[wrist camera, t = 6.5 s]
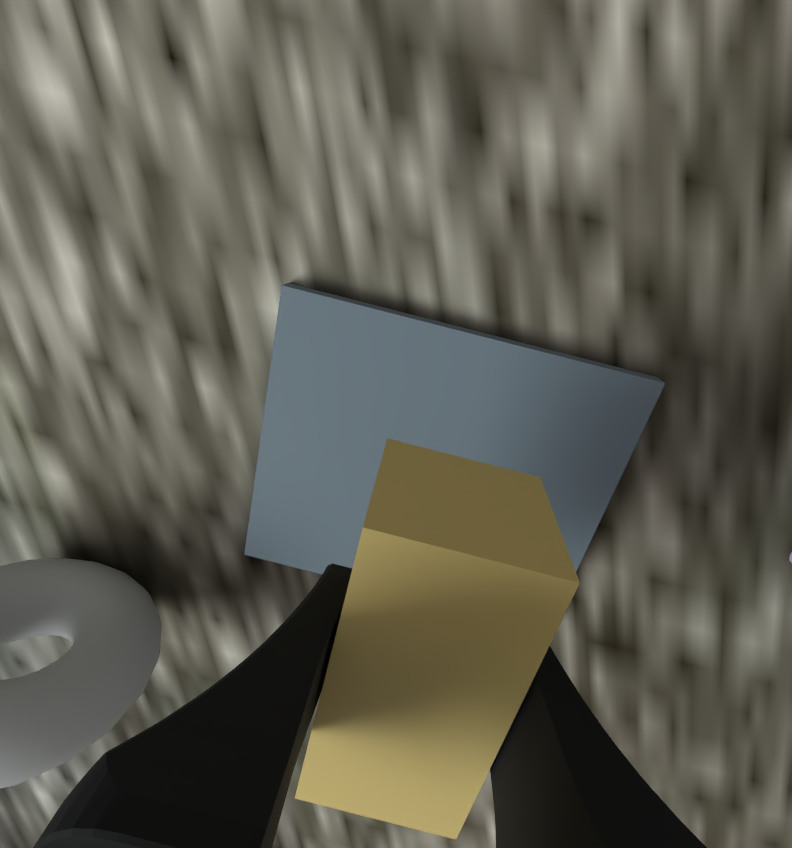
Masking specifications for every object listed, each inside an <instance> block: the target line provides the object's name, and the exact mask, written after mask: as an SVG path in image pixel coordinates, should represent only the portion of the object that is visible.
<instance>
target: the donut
mask: <svg viewBox="0 0 792 848" xmlns="http://www.w3.org/2000/svg"><path fill="white" fill-rule="evenodd" d="M38 635H56V636H62V637H64V638H67V639H69V640H71V641H72V642H73V646H72V647H71V649H70V650H69V651H68V652H66V653H65V654H64V655H63V656H62V657H61V658H59V659H58V660H57V661H55V662H54V663H52V664H50V665H48V666H46V667H45V668H43V669H41V670H39V671H36V672H33V673H31V674H28V675H25V676H22V677H19V678H13V679H6V680H0V788H4V787H9V786H14V785H17V784H19V783H21V782H24V781H26V780H28V779H30V778H32V777H35V776H37V775H39V774H41V773H43V772H46V771H48V770H50V769H52V768H54V767H57V766H59V765H61V764H63V763H66V762H68V761H69V760H70V759H72V758H73V757H75V756H76V755H77V754H79V753H80V752H81V751H83V750H84V749H86V748H87V747H88V746H90V745H91V744H92V743H94V742H95V741H97V740H98V739H99V738H101V737H102V736H104V735H105V734H106V733H108V732H109V731H110V730H111V729H112V728H113V726H114V725H115V724H116V723H117V722H118V721H119V720H120V718H121V717H122V716H123V715H124V714H125V713H126V712H127V710H128V709H129V708H130V707H131V706H132V705H133V704H134V702H135V701H136V700H137V699H138V698H139V697H140V695H141V694H142V693H143V691H144V689H145V687H146V685H147V683H148V681H149V678H150V676H151V674H152V672H153V670H154V668H155V665H156V663H157V661H158V658H159V654H160V641H161V621H160V616H159V614H158V612H157V609H156V607H155V605H154V603H153V601H152V598H151V596H150V594H149V593H148V592H147V591H146V590H145V588H143V587H142V586H141V585H140V584H139V583H137V582H136V581H135V580H134V579H133V578H131V577H130V576H129V575H128V574H127V573H125V572H122V571H119V570H117V569H114V568H111V567H109V566H106V565H103V564H101V563H98V562H93V561H85V560H77V559H69V558H54V559H37V560H26V561H22V562H17V563H13V564H8V565H4V566H0V647H1V646H3V645H5V644H7V643H9V642H13V641H16V640H19V639H23V638H26V637H29V636H38Z"/></svg>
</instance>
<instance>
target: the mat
mask: <svg viewBox="0 0 792 848" xmlns="http://www.w3.org/2000/svg"><path fill="white" fill-rule="evenodd" d="M664 385H665V383H664V382H663V381H661V380H660V379H659V378H657V377H655V376H651V375H647V374H643V373H639V372H635V371H631V370H628V369H624V368H620V367H616V366H612V365H608V364H604V363H600V362H596V361H592V360H588V359H584V358H581V357H577V356H573V355H569V354H565V353H561V352H557V351H553V350H549V349H545V348H541V347H537V346H534V345H530V344H526V343H522V342H518V341H514V340H510V339H506V338H502V337H498V336H494V335H490V334H487V333H483V332H479V331H475V330H471V329H467V328H463V327H459V326H455V325H451V324H447V323H443V322H440V321H436V320H432V319H428V318H424V317H420V316H416V315H412V314H408V313H404V312H400V311H396V310H393V309H389V308H385V307H381V306H377V305H373V304H369V303H365V302H361V301H357V300H353V299H350V298H346V297H342V296H338V295H334V294H330V293H326V292H322V291H318V290H314V289H310V288H306V287H303V286H299V285H295V284H291V283H287V284H284V285H282V288H281V295H280V302H279V309H278V316H277V324H276V331H275V338H274V345H273V352H272V359H271V367H270V374H269V381H268V388H267V395H266V402H265V410H264V417H263V424H262V431H261V438H260V445H259V453H258V460H257V467H256V474H255V481H254V488H253V496H252V503H251V510H250V517H249V524H248V531H247V539H246V546H245V553H244V555H248V556H252V557H256V558H259V559H263V560H267V561H271V562H275V563H279V564H283V565H287V566H291V567H295V568H299V569H303V570H307V571H310V572H314V573H318V574H323V573H324V571H325V569H326V567H327V566H328V565H330V564H332V563H333V564H337V565H341V566H345V567H349V568H353V564H354V560H355V556H356V552H357V548H358V544H359V540H360V536H361V532H362V528H363V525H364V521H365V517H366V514H367V510H368V506H369V503H370V499H371V496H372V492H373V488H374V485H375V481H376V478H377V474H378V470H379V467H380V463H381V459H382V456H383V452H384V449H385V445H386V441H387V438H389V439H393V440H396V441H400V442H404V443H408V444H412V445H416V446H420V447H424V448H428V449H432V450H435V451H439V452H443V453H447V454H451V455H455V456H459V457H463V458H467V459H471V460H475V461H478V462H482V463H486V464H490V465H494V466H498V467H502V468H506V469H510V470H514V471H517V472H521V473H525V474H529V475H533V476H537V477H540V478H541V481H542V483H543V486H544V489H545V491H546V494H547V497H548V499H549V502H550V505H551V507H552V510H553V513H554V515H555V518H556V521H557V523H558V526H559V529H560V531H561V534H562V537H563V539H564V542H565V545H566V547H567V550H568V553H569V555H570V558H571V561H572V563H573V566H574V569H575V571H577V569H578V567H579V565H580V563H581V561H582V558H583V556H584V554H585V552H586V550H587V548H588V546H589V544H590V542H591V539H592V537H593V535H594V533H595V531H596V529H597V527H598V525H599V523H600V520H601V518H602V516H603V514H604V512H605V510H606V508H607V506H608V503H609V501H610V499H611V497H612V495H613V493H614V491H615V489H616V487H617V484H618V482H619V480H620V478H621V476H622V474H623V472H624V470H625V468H626V465H627V463H628V461H629V459H630V457H631V455H632V453H633V451H634V449H635V446H636V444H637V442H638V440H639V438H640V436H641V434H642V432H643V429H644V427H645V425H646V423H647V421H648V419H649V417H650V415H651V413H652V410H653V408H654V406H655V404H656V402H657V400H658V398H659V396H660V394H661V391H662V389H663V387H664Z"/></svg>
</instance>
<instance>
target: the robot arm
mask: <svg viewBox="0 0 792 848" xmlns="http://www.w3.org/2000/svg"><path fill="white" fill-rule="evenodd" d="M789 559H790V562H791V563H792V552H791V554H790V557H789ZM351 572H352V568H349V567H345V566H341V565H337V564H333V563H332V564H330V565H328V566H327V567H326V569H325V571H324V573H323V574H322V576H321V577H320V579H319V580H318V582H317V583H316V585H315V586H314V587H313V589H312V590H311V591H310V593H309V594H308V595H307V597H306V598H305V599H304V600H303V601H302V602H301V604H300V605H299V606H298V607H297V608H296V609H295V611H294V612H293V613H292V614H291V615H290V616H289V617H288V619H287V620H286V621H285V622H284V623H283V624H282V625H281V626H280V627H279V628H278V629H277V630H276V631H275V632H274V633H273V634H272V635H271V636H270V637H269V638H268V639H267V640H266V641H265V642H264V643H263V644H262V645H261V646H260V647H259V648H258V649H256V650H255V651H254V652H253V653H252V654H251V655H250V656H249V657H247V658H246V659H245V660H244V661H243V662H242V663H240V664H239V665H238V666H237V667H236V668H235V669H233V670H232V671H231V672H229V673H228V674H227V675H226V676H224V677H223V678H222V679H221V680H219V681H218V682H217V683H215V684H214V685H213V686H211V687H210V688H209V689H207V690H206V691H205V692H203V693H202V694H201V695H199V696H198V697H196V698H195V699H193V700H192V701H190V702H189V703H187V704H186V705H184V706H183V707H181V708H180V709H178V710H177V711H175V712H174V713H172V714H171V715H169V716H168V717H166V718H165V719H163V720H161V721H160V722H158V723H157V724H155V725H153V726H152V727H150V728H148V729H146V730H145V731H143V732H141V733H139V734H138V735H136V736H134V737H132V738H130V739H129V740H127V741H125V742H123V743H122V744H120V745H118V746H116V747H115V748H113V749H111V750H109V751H107V752H106V753H105V754H104V755H103V756H102V757H101V758H100V759H99V760H98V761H97V762H96V763H95V764H94V766H93V767H92V768H91V769H90V770H89V771H88V772H87V773H86V775H85V776H84V777H83V778H82V779H81V781H80V782H79V783H78V784H77V785H76V787H75V788H74V789H73V790H72V792H71V793H70V794H69V795H68V797H67V798H66V799H65V800H64V802H63V803H62V805H61V806H60V808H59V809H58V810H57V812H56V814H55V815H54V817H53V818H52V820H51V821H50V823H49V824H48V826H47V827H46V829H45V830H44V832H43V833H42V835H41V837H40V838H39V840H38V841H37V843H36V844H35V846H34V847H33V848H272V845H273V841H274V838H275V834H276V831H277V827H278V823H279V820H280V816H281V812H282V809H283V805H284V802H285V798H286V794H287V791H288V787H289V783H290V780H291V776H292V773H293V770H294V767H295V764H296V761H297V757H298V754H299V752H300V749H301V746H302V743H303V741H304V738H305V735H306V732H307V729H308V727H309V724H310V721H311V718H312V716H313V713H314V710H315V707H316V705H317V702H318V699H319V696H320V694H321V691H322V688H323V684H324V680H325V676H326V672H327V668H328V664H329V660H330V656H331V652H332V648H333V644H334V640H335V636H336V632H337V628H338V624H339V620H340V616H341V612H342V608H343V604H344V600H345V596H346V592H347V588H348V584H349V580H350V576H351ZM490 772H491V781H492V790H493V799H494V810H495V824H496V848H707V847H706V846H705V845H704V844H703V843H702V842H701V841H700V840H699V839H698V838H697V837H696V836H695V835H694V834H693V833H692V832H691V831H690V830H689V829H688V828H687V827H686V826H685V825H684V824H683V823H682V822H681V821H680V820H679V819H678V818H677V816H676V815H675V814H674V813H673V812H672V811H671V810H670V809H669V808H668V806H667V805H666V804H665V803H664V802H663V801H662V800H661V799H660V798H659V796H658V795H657V794H656V793H655V792H654V791H653V790H652V789H651V788H650V786H649V785H648V784H647V783H646V782H645V781H644V779H643V778H642V777H641V776H640V775H639V773H638V772H637V771H636V770H635V769H634V767H633V766H632V765H631V764H630V762H629V761H628V760H627V759H626V757H625V756H624V755H623V754H622V752H621V751H620V750H619V749H618V747H617V746H616V745H615V743H614V742H613V741H612V739H611V738H610V737H609V735H608V734H607V733H606V731H605V730H604V729H603V727H602V726H601V724H600V723H599V722H598V720H597V719H596V717H595V716H594V715H593V713H592V712H591V710H590V709H589V707H588V706H587V705H586V703H585V702H584V700H583V699H582V697H581V696H580V694H579V693H578V691H577V689H576V688H575V686H574V685H573V683H572V682H571V680H570V678H569V677H568V675H567V674H566V672H565V671H564V669H563V667H562V666H561V664H560V662H559V661H558V659H557V657H556V656H555V654H554V652H553V651H552V649H551V647H550V646H549V648H548V650H547V652H546V654H545V656H544V658H543V660H542V662H541V664H540V667H539V669H538V671H537V673H536V675H535V677H534V679H533V681H532V683H531V685H530V687H529V689H528V691H527V693H526V696H525V698H524V700H523V702H522V704H521V706H520V708H519V710H518V712H517V714H516V716H515V718H514V720H513V722H512V724H511V727H510V729H509V731H508V733H507V735H506V737H505V739H504V741H503V743H502V745H501V747H500V749H499V751H498V753H497V756H496V758H495V760H494V762H493V764H492V766H491V768H490Z"/></svg>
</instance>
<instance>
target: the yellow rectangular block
mask: <svg viewBox="0 0 792 848" xmlns="http://www.w3.org/2000/svg"><path fill="white" fill-rule="evenodd" d="M579 584H580V582H579V579H578V577H577V574H576V571H575V569H574V566H573V563H572V561H571V558H570V555H569V553H568V550H567V547H566V545H565V542H564V539H563V537H562V534H561V531H560V529H559V526H558V523H557V521H556V518H555V515H554V513H553V510H552V507H551V505H550V502H549V499H548V497H547V494H546V491H545V489H544V486H543V483H542V481H541V478H540V477H537V476H533V475H529V474H525V473H521V472H517V471H514V470H510V469H506V468H502V467H498V466H494V465H490V464H486V463H482V462H478V461H475V460H471V459H467V458H463V457H459V456H455V455H451V454H447V453H443V452H439V451H435V450H432V449H428V448H424V447H420V446H416V445H412V444H408V443H404V442H400V441H396V440H393V439H389V438H387V441H386V445H385V449H384V452H383V456H382V459H381V463H380V467H379V470H378V474H377V478H376V481H375V485H374V488H373V492H372V496H371V499H370V503H369V506H368V510H367V514H366V517H365V521H364V525H363V528H362V532H361V536H360V540H359V544H358V548H357V552H356V556H355V560H354V564H353V568H352V572H351V576H350V580H349V584H348V588H347V592H346V596H345V600H344V604H343V608H342V612H341V616H340V620H339V624H338V628H337V632H336V636H335V640H334V644H333V648H332V652H331V656H330V660H329V664H328V668H327V672H326V676H325V680H324V684H323V688H322V692H321V696H320V700H319V704H318V708H317V712H316V716H315V720H314V724H313V728H312V732H311V736H310V740H309V744H308V748H307V752H306V756H305V760H304V764H303V768H302V772H301V776H300V780H299V784H298V788H297V792H296V796H295V799H299V800H303V801H307V802H311V803H315V804H319V805H323V806H327V807H331V808H335V809H339V810H342V811H346V812H350V813H354V814H358V815H362V816H366V817H370V818H374V819H378V820H382V821H386V822H389V823H393V824H397V825H401V826H405V827H409V828H413V829H417V830H421V831H425V832H429V833H433V834H437V835H440V836H444V837H448V838H452V839H456V838H457V836H458V834H459V832H460V830H461V828H462V826H463V824H464V822H465V820H466V818H467V816H468V814H469V811H470V809H471V807H472V805H473V803H474V801H475V799H476V797H477V795H478V793H479V791H480V789H481V787H482V785H483V782H484V780H485V778H486V776H487V774H488V772H489V770H490V768H491V766H492V764H493V762H494V760H495V758H496V756H497V753H498V751H499V749H500V747H501V745H502V743H503V741H504V739H505V737H506V735H507V733H508V731H509V729H510V727H511V724H512V722H513V720H514V718H515V716H516V714H517V712H518V710H519V708H520V706H521V704H522V702H523V700H524V698H525V696H526V693H527V691H528V689H529V687H530V685H531V683H532V681H533V679H534V677H535V675H536V673H537V671H538V669H539V667H540V664H541V662H542V660H543V658H544V656H545V654H546V652H547V650H548V648H549V646H550V644H551V642H552V640H553V638H554V635H555V633H556V631H557V629H558V627H559V625H560V623H561V621H562V619H563V617H564V615H565V613H566V611H567V609H568V606H569V604H570V602H571V600H572V598H573V596H574V594H575V592H576V590H577V588H578V586H579Z"/></svg>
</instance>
